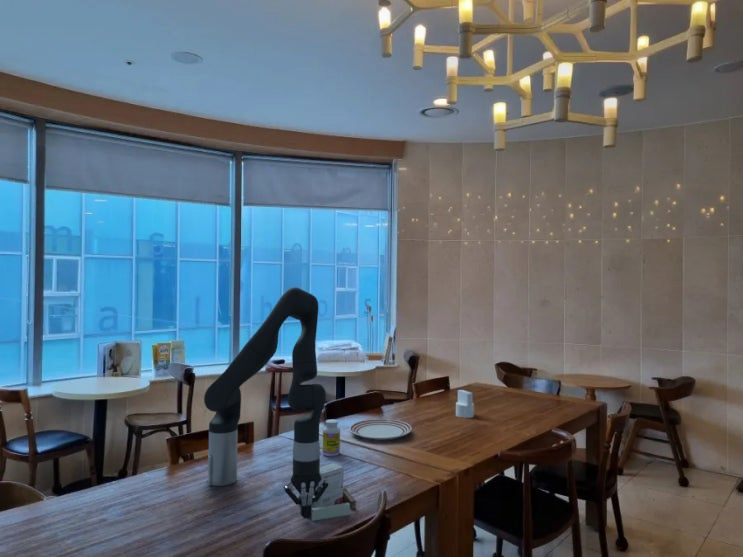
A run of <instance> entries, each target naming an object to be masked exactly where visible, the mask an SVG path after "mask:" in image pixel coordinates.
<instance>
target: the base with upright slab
mask: <svg viewBox="0 0 743 557" xmlns="http://www.w3.org/2000/svg"><path fill="white" fill-rule="evenodd" d="M455 416H456V417H458V418H462V417H463V419H470V418H471V419H472V418H474V416H475V403H473V392H471V391H467V390H464V389H458V390H457V401H456V402H455Z"/></svg>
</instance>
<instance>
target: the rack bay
mask: <svg viewBox="0 0 743 557" xmlns="http://www.w3.org/2000/svg"><path fill="white" fill-rule="evenodd" d="M298 498H300V495H299V494H298ZM343 502H344V503H349V504H350V511H352V510H356V509H357V500H356V499H355V498H354V497H353V495H352V494H351V493H350V491H349V490H348V489H347V488H343Z"/></svg>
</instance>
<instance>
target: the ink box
mask: <svg viewBox="0 0 743 557" xmlns="http://www.w3.org/2000/svg"><path fill="white" fill-rule="evenodd" d="M320 476H321V479H323V480H326V482H327V483H328V487H327V488H326V490H325V491H324V493H323V494H322V496H321V497H320V498H319V500H318V501H317V502H314V503H312V507H311V509H312V508H317V507H324V506H330V505H337V504H344V500H343V489H344V467H343V466H341V465H339V464H337V463H334V462H333V463H329V464H326V465H322V466H320ZM318 487H319V484H318V485H317V487H316V488H315V490H314V491H313V494H314V492H315V491H316V490H317V488H318Z"/></svg>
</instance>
